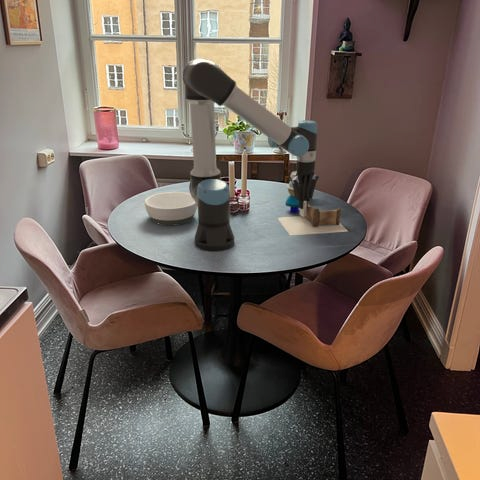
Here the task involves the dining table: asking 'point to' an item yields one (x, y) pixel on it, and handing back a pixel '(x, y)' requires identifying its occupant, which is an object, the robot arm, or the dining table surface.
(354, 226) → the dining table surface
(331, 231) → the card
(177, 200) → the bowl
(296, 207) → the toy
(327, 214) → the fence fixed
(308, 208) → the fence gate
